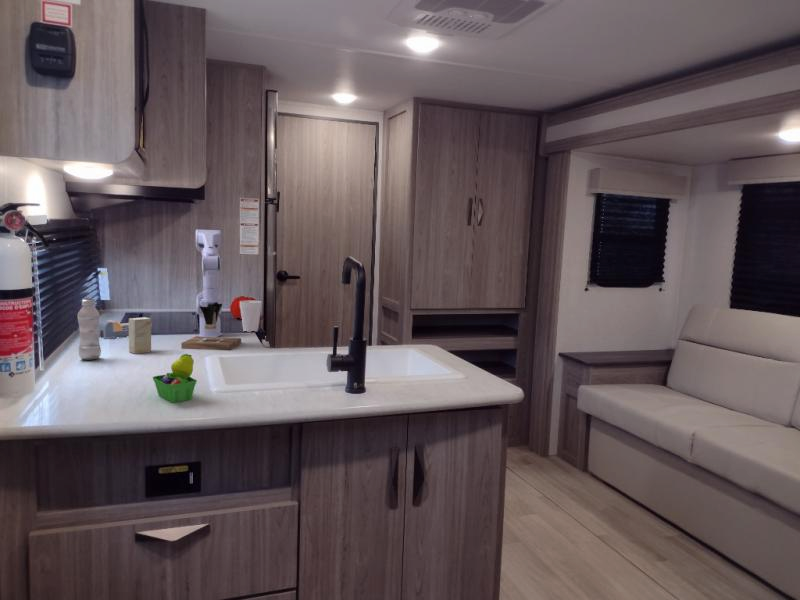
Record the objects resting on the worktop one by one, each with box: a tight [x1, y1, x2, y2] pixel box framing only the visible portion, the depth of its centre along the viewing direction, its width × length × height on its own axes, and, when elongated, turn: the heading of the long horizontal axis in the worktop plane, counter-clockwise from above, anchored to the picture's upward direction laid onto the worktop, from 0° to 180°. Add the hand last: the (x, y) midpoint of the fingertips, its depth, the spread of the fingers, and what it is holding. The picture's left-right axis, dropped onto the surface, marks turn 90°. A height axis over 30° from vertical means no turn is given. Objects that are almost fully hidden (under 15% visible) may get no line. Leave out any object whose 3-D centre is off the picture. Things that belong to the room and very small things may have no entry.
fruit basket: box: [152, 353, 197, 403], centre depth 149 cm, size 11×9×11 cm
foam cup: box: [240, 300, 263, 333], centre depth 250 cm, size 10×9×13 cm
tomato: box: [229, 295, 257, 320], centre depth 282 cm, size 13×14×12 cm
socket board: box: [180, 335, 242, 351], centre depth 216 cm, size 14×18×2 cm
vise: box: [98, 319, 153, 340], centre depth 230 cm, size 18×10×7 cm, turn 141°
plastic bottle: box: [76, 298, 102, 361], centre depth 186 cm, size 6×7×20 cm
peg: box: [205, 312, 216, 329], centre depth 214 cm, size 4×4×6 cm
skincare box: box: [128, 316, 152, 355], centre depth 200 cm, size 6×4×12 cm
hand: (211, 323), depth 214 cm, fingers closed on peg, 4 cm apart
